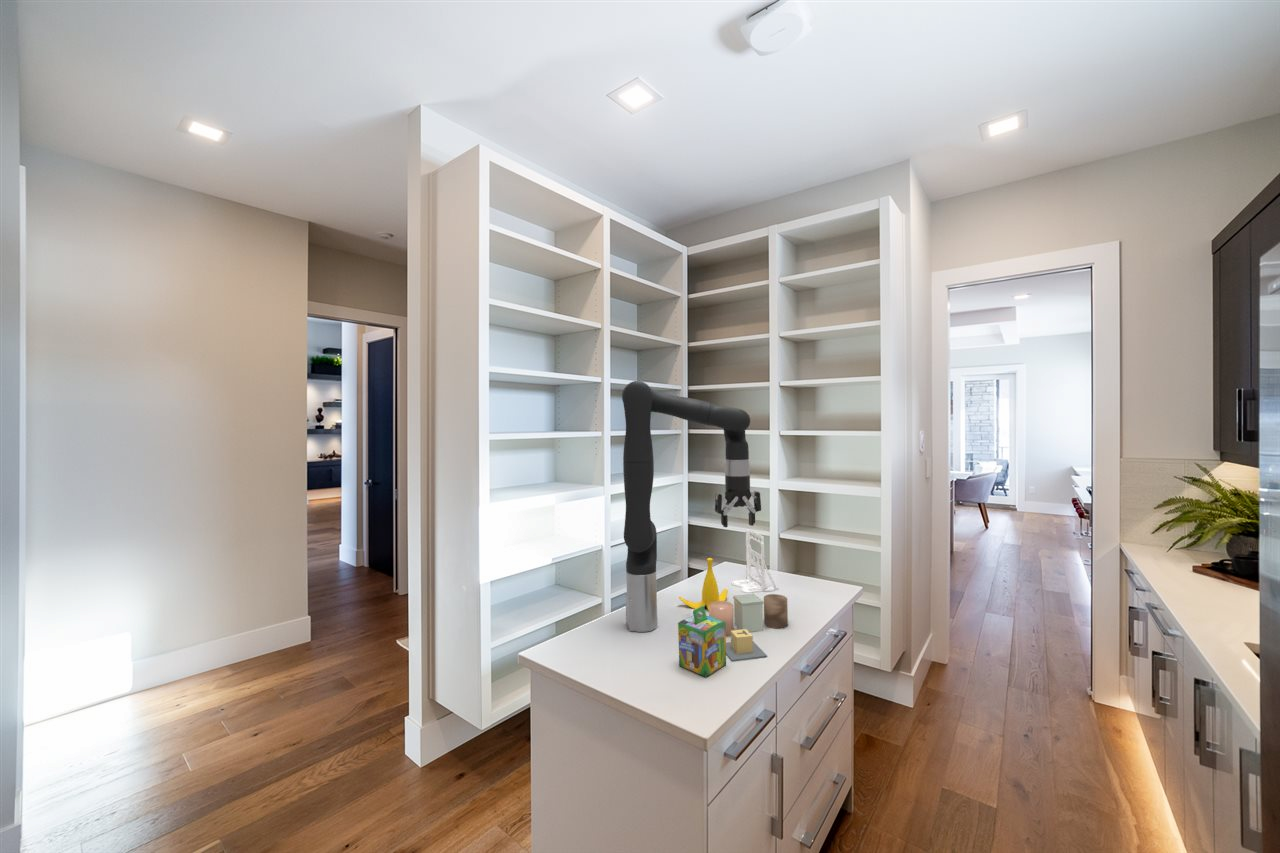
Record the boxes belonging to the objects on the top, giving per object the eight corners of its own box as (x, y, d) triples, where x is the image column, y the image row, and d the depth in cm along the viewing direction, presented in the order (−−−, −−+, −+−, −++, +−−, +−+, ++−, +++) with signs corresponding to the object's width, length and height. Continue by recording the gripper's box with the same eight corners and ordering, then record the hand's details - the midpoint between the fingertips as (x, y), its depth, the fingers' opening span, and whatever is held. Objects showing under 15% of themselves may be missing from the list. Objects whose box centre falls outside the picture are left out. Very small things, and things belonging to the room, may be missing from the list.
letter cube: (737, 654, 138) (736, 637, 138) (731, 646, 143) (730, 630, 143) (752, 652, 139) (752, 635, 139) (746, 645, 144) (745, 628, 143)
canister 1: (714, 638, 149) (714, 610, 149) (706, 628, 156) (706, 602, 156) (737, 635, 151) (736, 608, 151) (728, 625, 158) (727, 599, 157)
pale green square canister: (742, 633, 152) (741, 603, 152) (733, 623, 159) (733, 595, 159) (763, 630, 154) (763, 601, 153) (754, 621, 160) (753, 593, 160)
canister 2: (770, 629, 154) (770, 603, 154) (760, 620, 161) (759, 595, 161) (792, 627, 155) (791, 601, 155) (781, 618, 162) (780, 593, 162)
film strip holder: (728, 582, 198) (727, 530, 198) (761, 578, 202) (760, 527, 201) (744, 594, 184) (743, 539, 184) (780, 590, 188) (779, 536, 187)
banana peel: (677, 606, 175) (676, 557, 175) (726, 597, 182) (725, 550, 182) (700, 624, 160) (699, 570, 159) (752, 614, 167) (751, 563, 166)
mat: (731, 661, 135) (731, 660, 135) (718, 644, 145) (718, 643, 145) (767, 657, 137) (767, 655, 137) (751, 640, 147) (751, 639, 147)
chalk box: (706, 678, 127) (704, 619, 127) (677, 666, 133) (676, 609, 133) (727, 664, 134) (726, 608, 133) (699, 653, 140) (698, 599, 140)
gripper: (719, 476, 154) (720, 530, 154) (764, 474, 157) (765, 527, 157) (711, 473, 161) (712, 525, 162) (753, 471, 164) (754, 522, 164)
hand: (738, 526), depth 159 cm, fingers open, 8 cm apart
